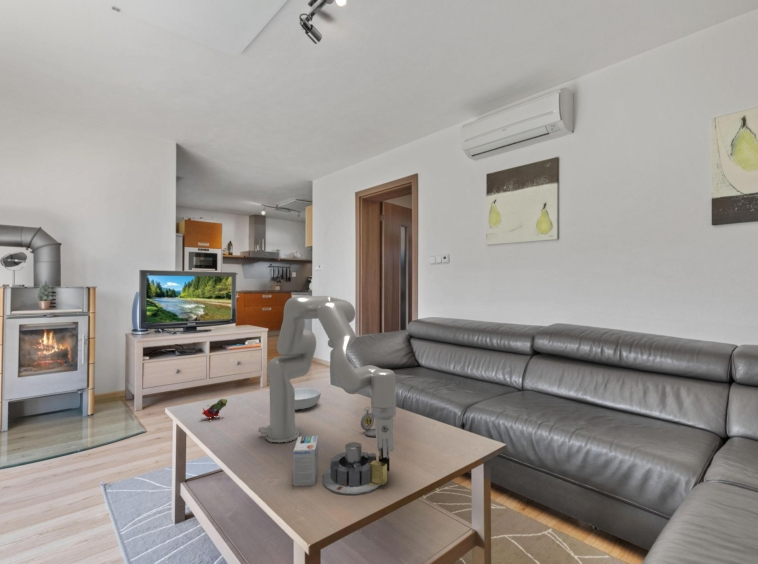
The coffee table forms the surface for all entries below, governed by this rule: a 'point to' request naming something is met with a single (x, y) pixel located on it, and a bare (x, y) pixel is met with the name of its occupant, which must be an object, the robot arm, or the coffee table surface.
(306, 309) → the robot arm
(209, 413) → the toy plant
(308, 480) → the light bulb box
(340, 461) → the castellated metal disc
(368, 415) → the pocket watch
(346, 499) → the coffee table surface
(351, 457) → the spindle plate
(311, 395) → the serving bowl
